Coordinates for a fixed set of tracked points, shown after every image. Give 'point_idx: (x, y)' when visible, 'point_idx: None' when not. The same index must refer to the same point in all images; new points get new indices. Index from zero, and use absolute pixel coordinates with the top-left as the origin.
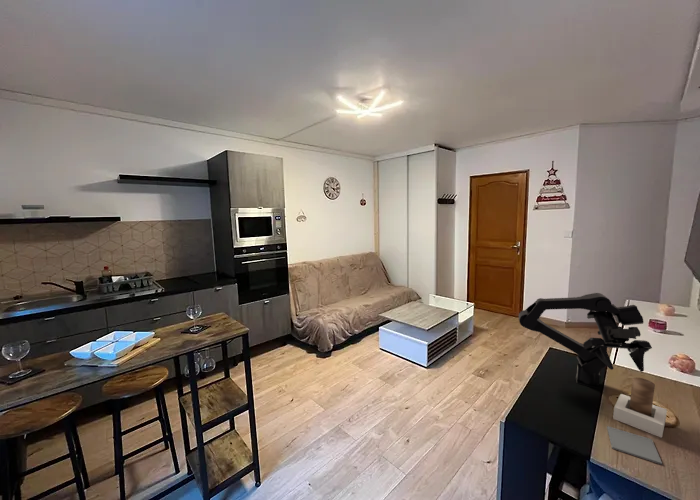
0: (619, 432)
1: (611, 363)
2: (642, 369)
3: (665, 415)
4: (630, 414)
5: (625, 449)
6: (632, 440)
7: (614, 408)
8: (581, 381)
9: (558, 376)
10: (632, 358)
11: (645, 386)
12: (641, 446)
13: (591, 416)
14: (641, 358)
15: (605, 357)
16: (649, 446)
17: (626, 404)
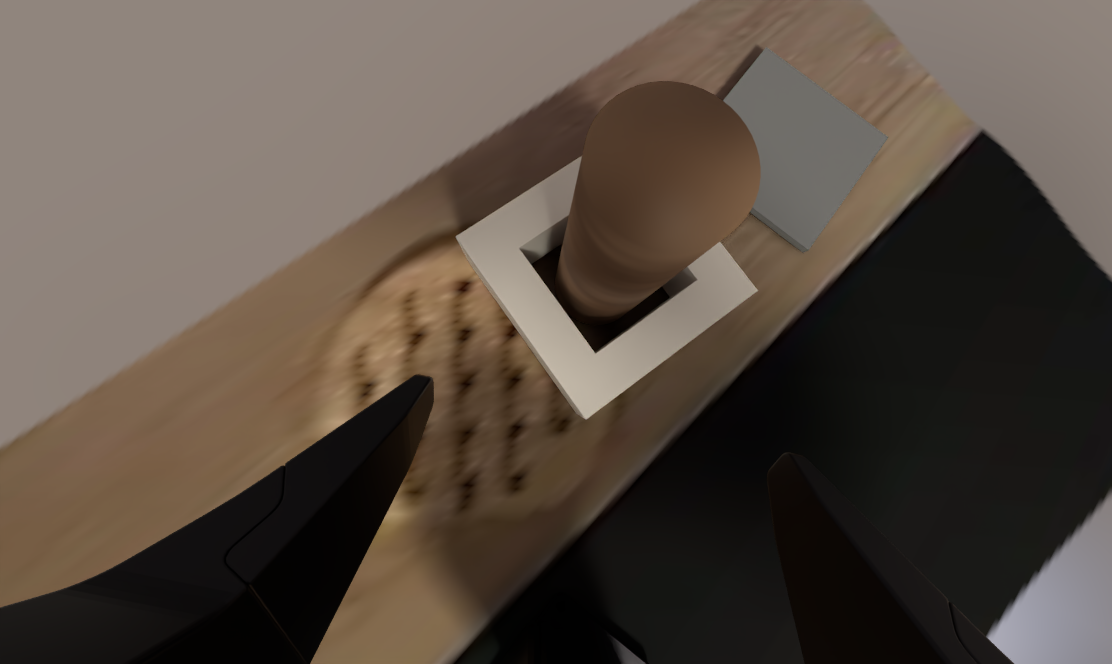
0: (787, 205)
1: (836, 507)
2: (424, 383)
3: (528, 190)
4: None
5: (846, 118)
6: (774, 156)
7: (753, 290)
8: None
9: None
10: (307, 656)
11: (720, 107)
12: (766, 123)
13: (809, 336)
14: (277, 504)
15: (966, 627)
16: None
17: (650, 313)
